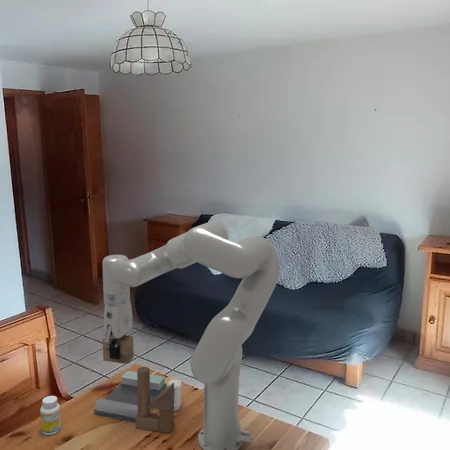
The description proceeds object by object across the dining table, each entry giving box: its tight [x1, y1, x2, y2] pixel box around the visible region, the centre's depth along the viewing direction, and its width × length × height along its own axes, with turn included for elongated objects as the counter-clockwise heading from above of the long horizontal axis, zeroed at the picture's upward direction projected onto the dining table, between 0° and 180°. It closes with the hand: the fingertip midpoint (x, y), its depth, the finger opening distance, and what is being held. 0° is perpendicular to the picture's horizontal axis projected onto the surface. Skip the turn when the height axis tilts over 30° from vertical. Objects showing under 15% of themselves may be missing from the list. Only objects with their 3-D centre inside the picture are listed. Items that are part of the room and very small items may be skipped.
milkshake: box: [166, 379, 184, 412], centre depth 144 cm, size 5×5×10 cm
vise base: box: [93, 382, 168, 423], centre depth 148 cm, size 15×21×4 cm
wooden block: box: [135, 366, 175, 434], centre depth 133 cm, size 4×11×18 cm, turn 78°
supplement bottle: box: [39, 395, 62, 436], centre depth 132 cm, size 5×5×10 cm
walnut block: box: [102, 334, 135, 365], centre depth 139 cm, size 8×4×7 cm, turn 76°
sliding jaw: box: [120, 370, 166, 391], centre depth 156 cm, size 14×5×2 cm, turn 74°
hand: (118, 354), depth 139 cm, fingers closed on walnut block, 4 cm apart
